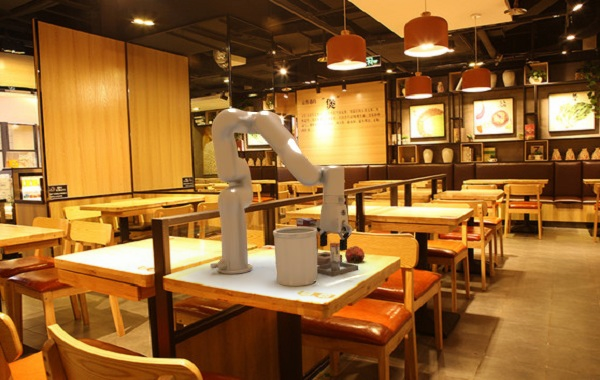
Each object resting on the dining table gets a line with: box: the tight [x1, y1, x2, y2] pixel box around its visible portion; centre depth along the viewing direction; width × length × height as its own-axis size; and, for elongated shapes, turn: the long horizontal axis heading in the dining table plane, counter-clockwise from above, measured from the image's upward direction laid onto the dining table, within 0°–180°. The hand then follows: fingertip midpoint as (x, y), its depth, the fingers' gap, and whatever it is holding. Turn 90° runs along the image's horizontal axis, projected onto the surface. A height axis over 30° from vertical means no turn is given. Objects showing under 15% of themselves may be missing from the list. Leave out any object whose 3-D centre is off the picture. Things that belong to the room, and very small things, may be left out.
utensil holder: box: [272, 225, 318, 287], centre depth 150 cm, size 15×15×18 cm
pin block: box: [317, 251, 343, 266], centre depth 171 cm, size 9×9×4 cm
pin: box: [329, 242, 341, 271], centre depth 159 cm, size 3×3×10 cm
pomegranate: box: [344, 245, 365, 265], centre depth 172 cm, size 7×7×10 cm
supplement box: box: [296, 217, 319, 254], centre depth 189 cm, size 9×5×16 cm, turn 41°
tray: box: [317, 261, 359, 278], centre depth 159 cm, size 13×10×2 cm
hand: (333, 248), depth 158 cm, fingers open, 9 cm apart
